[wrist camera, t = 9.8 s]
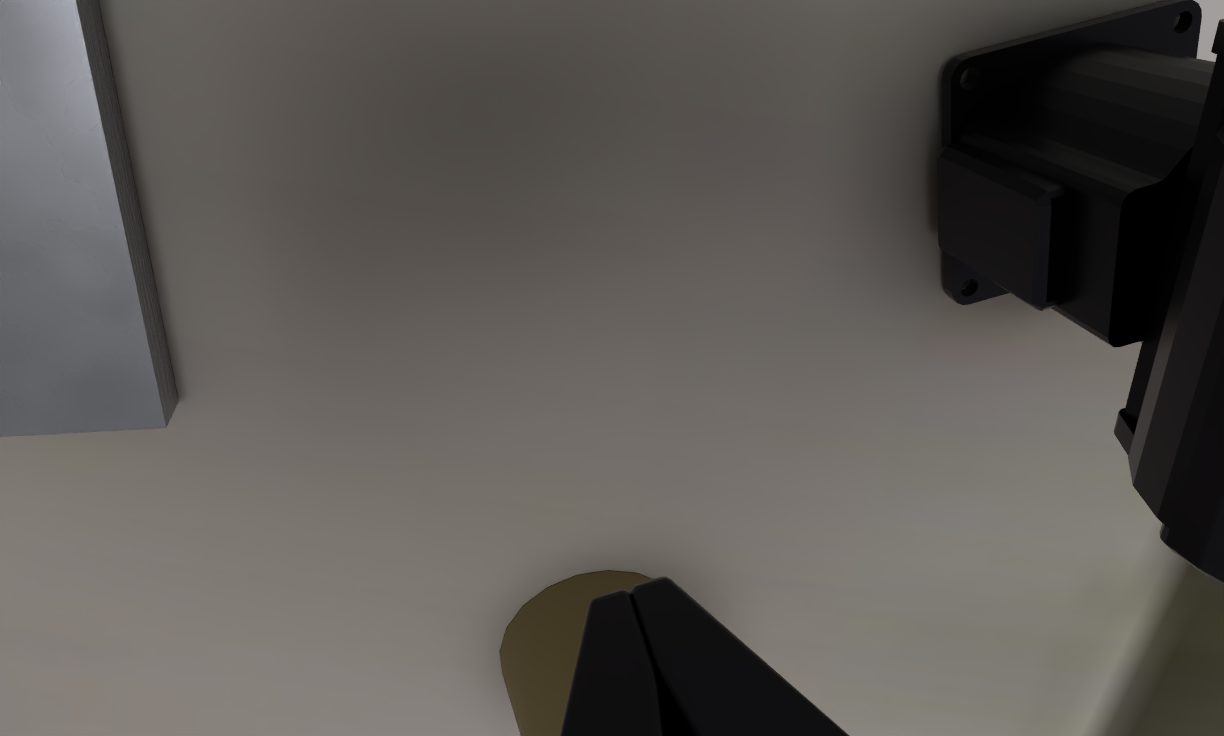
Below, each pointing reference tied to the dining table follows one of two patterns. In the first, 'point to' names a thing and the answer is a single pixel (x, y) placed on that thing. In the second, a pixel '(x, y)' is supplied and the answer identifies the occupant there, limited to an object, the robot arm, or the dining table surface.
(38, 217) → the grey piece
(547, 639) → the cork
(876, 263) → the dining table surface
